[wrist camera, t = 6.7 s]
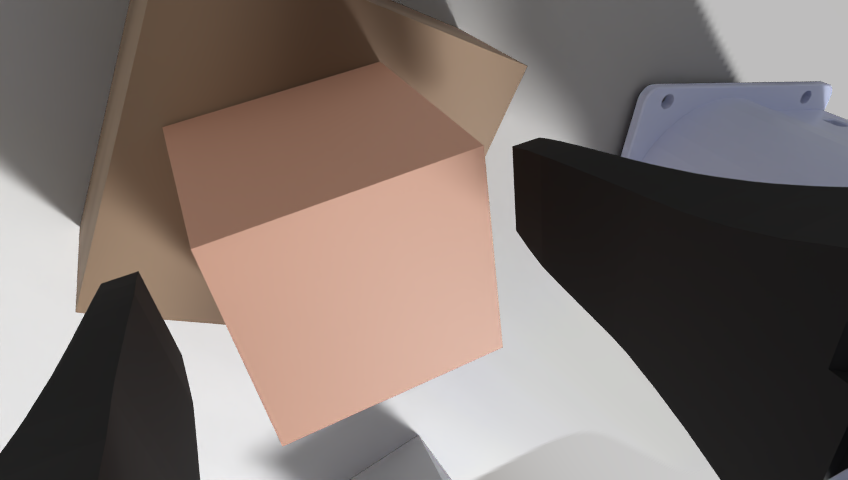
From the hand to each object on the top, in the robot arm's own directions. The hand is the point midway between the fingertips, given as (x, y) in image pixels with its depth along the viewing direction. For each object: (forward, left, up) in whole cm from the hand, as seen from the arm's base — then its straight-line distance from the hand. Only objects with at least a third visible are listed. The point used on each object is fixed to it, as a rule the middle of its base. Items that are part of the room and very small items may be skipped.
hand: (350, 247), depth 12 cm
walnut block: (0, 0, -7) cm, 7 cm away
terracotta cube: (0, 0, -3) cm, 3 cm away
